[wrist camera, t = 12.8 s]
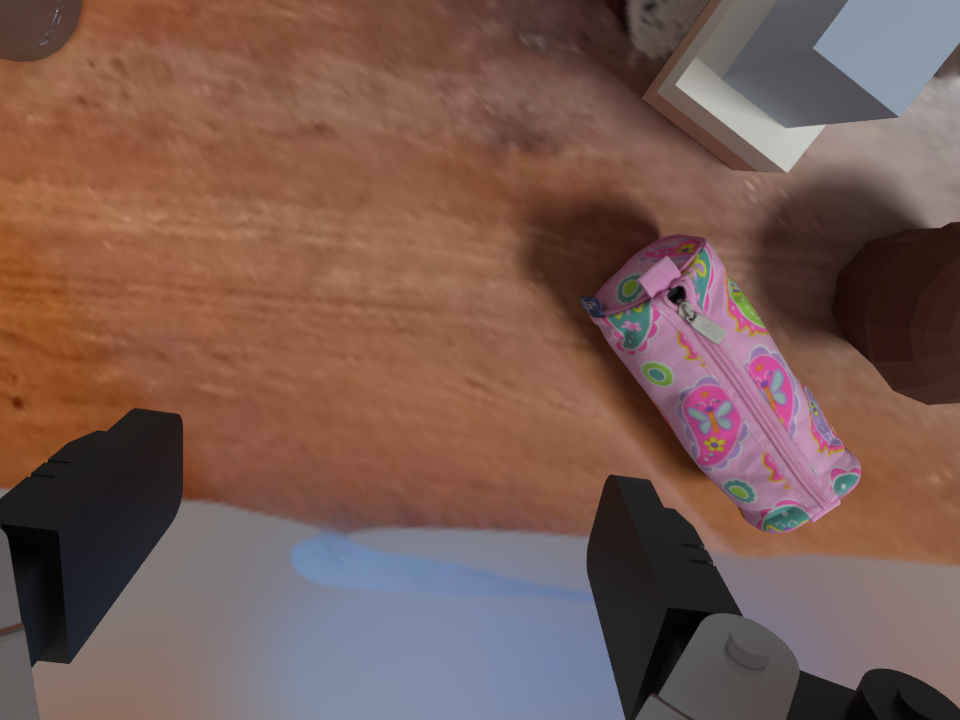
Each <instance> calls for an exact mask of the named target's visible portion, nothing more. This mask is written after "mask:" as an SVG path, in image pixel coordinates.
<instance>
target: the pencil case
mask: <svg viewBox="0 0 960 720" xmlns="http://www.w3.org/2000/svg"><path fill="white" fill-rule="evenodd" d="M580 303H581V304H582V306H583V308H584V309H585V311H586V312H587V313H588V314H589V316H590V318H591V320H592V321H593V323H594V324H597V325H598V326H599V327H600V329H601V331H602V333H603V335H604V337H605V339H606V340H607V342H608V344H609V345H610V346H611V348H612V349H613V350H614V352H615V353H616V354H617V356H618V357H619V358H620V359H621V361H622V362H623V363H624V365H625V366H626V367H627V369H628V370H629V371H630V373H631V374H632V375H633V377H634V378H635V379H636V380H637V382H638V383H639V384H640V385H641V387H642V388H643V389H644V390H645V392H646V393H647V395H648V396H649V397H650V399H651V400H652V402H653V403H654V404H655V406H656V407H657V408H658V410H659V411H660V413H661V414H662V416H663V417H664V419H665V420H666V422H667V423H668V424H669V426H670V427H671V429H672V430H673V432H674V433H675V435H676V436H677V438H678V439H679V441H680V443H681V444H682V446H683V447H684V449H685V450H686V451H687V453H688V454H689V456H690V457H691V458H692V460H693V461H694V462H695V463H696V464H697V466H698V467H699V468H700V469H701V470H702V471H703V472H704V473H705V474H706V475H707V476H708V477H709V478H710V479H711V480H712V482H713V483H714V484H715V485H716V486H717V487H718V488H719V489H720V490H721V491H722V492H724V493H725V494H726V495H727V496H728V497H729V498H730V499H731V500H732V501H733V503H734V504H735V505H737V506H738V509H739V511H740V513H741V515H742V517H743V518H744V519H745V520H746V521H747V522H748V523H750V524H751V525H753V526H754V527H756V528H758V529H760V530H762V531H764V532H768V533H784V532H788V531H792V530H794V529H796V528H798V527H800V526H802V525H803V524H805V523H806V522H808V521H811V522H815V521H816V520H818V519H819V518H820V517H821V516H823V515H824V514H826V513H827V512H829V511H830V510H832V509H833V508H835V507H836V506H838V505H839V504H840V503H841V502H840V499H841V498H843V497H844V496H845V495H846V494H848V493H849V492H850V491H851V490H852V489H854V487H855V486H856V485H857V484H858V482H859V480H860V477H861V471H860V470H861V467H860V463H859V461H858V459H857V458H856V457H855V455H854V454H853V453H851V452H850V451H849V450H848V449H847V448H845V447H844V444H843V443H842V442H841V440H840V439H839V437H838V435H837V433H836V431H835V430H834V428H833V426H832V425H831V424H830V423H829V421H828V420H827V418H826V416H825V415H824V413H823V411H822V410H821V408H820V406H819V405H818V403H817V401H816V400H815V398H814V397H813V396H812V394H811V392H810V390H809V389H808V388H807V387H806V386H805V385H804V384H803V383H802V382H801V381H800V380H799V379H798V378H797V377H796V376H795V375H794V374H793V373H792V372H791V370H790V368H789V366H788V364H787V363H786V361H785V359H784V358H783V356H782V354H781V353H780V351H779V349H778V348H777V346H776V344H775V343H774V341H773V339H772V338H771V336H770V334H769V333H768V331H767V329H766V327H765V326H764V324H763V322H762V321H761V319H760V318H759V316H758V314H757V313H756V311H755V310H754V308H753V307H752V306H751V304H750V303H749V301H748V300H747V299H746V297H745V296H744V294H743V293H742V291H741V290H740V289H739V287H738V286H737V285H736V284H735V282H734V281H733V280H732V279H731V278H730V277H729V276H728V274H727V273H726V270H725V267H724V265H723V263H722V262H721V260H720V259H719V257H718V256H717V254H716V252H715V250H714V249H713V247H712V246H711V244H710V243H709V241H708V240H707V239H705V238H703V237H693V236H687V235H681V234H677V235H671V236H667V237H664V238H661V239H659V240H657V241H655V242H653V243H651V244H649V245H648V246H646V247H645V248H643V249H642V250H640V251H639V252H637V253H636V254H635V255H633V256H632V257H631V258H630V259H629V260H628V261H627V262H626V263H625V264H624V265H623V266H622V267H621V269H620V270H619V271H618V272H617V273H616V274H614V275H613V276H612V277H611V278H610V279H609V280H608V281H607V282H606V283H605V284H604V285H603V286H602V287H601V288H600V290H599V291H598V292H597V294H596V295H595V297H594V298H593V297H580Z"/></svg>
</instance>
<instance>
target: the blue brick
mask: <svg viewBox="0 0 960 720" xmlns="http://www.w3.org/2000/svg"><path fill="white" fill-rule="evenodd" d="M959 43H960V0H778V1H777V2H776V4H775V5H774V6H773V8H772V9H771V11H770V12H769V13H768V15H767V16H766V18H765V19H764V20H763V22H762V23H761V25H760V26H759V27H758V29H757V30H756V32H755V33H754V34H753V36H752V37H751V39H750V40H749V42H748V43H747V44H746V46H745V47H744V49H743V50H742V51H741V53H740V54H739V56H738V57H737V58H736V60H735V61H734V63H733V64H732V65H731V67H730V68H729V70H728V71H727V72H726V74H725V75H724V77H723V78H722V80H724V81H725V82H726V83H728V84H729V85H730V86H732V87H733V88H734V89H736V90H737V91H738V92H739V93H741V94H742V95H743V96H745V97H746V98H747V99H749V100H750V101H751V102H752V103H754V104H755V105H756V106H758V107H759V108H760V109H762V110H763V111H764V112H766V113H767V114H768V115H769V116H771V117H772V118H773V119H775V120H776V121H777V122H779V123H780V124H781V125H783V126H784V127H785V128H795V127H805V126H815V125H825V124H836V123H846V122H856V121H866V120H877V119H887V118H897V117H900V116H901V115H902V113H903V112H904V111H905V110H906V108H907V107H908V106H909V105H910V104H911V102H912V101H913V100H914V99H915V97H916V96H917V95H918V94H919V92H920V91H921V90H922V89H923V87H924V86H925V85H926V84H927V82H928V81H929V80H930V79H931V78H932V76H933V75H934V74H935V73H936V71H937V70H938V69H939V68H940V66H941V65H942V64H943V63H944V61H945V60H946V59H947V58H948V56H949V55H950V54H951V53H952V51H953V50H954V49H955V48H956V47H957V45H958V44H959Z"/></svg>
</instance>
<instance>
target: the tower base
mask: <svg viewBox="0 0 960 720" xmlns="http://www.w3.org/2000/svg"><path fill="white" fill-rule="evenodd" d="M777 1H778V0H710V2H709V3H708V4H707V6H706V7H705V9H704V10H703V11H702V13H701V14H700V16H699V17H698V19H697V20H696V21H695V23H694V24H693V26H692V27H691V28H690V30H689V31H688V33H687V34H686V36H685V37H684V38H683V40H682V41H681V43H680V44H679V45H678V47H677V48H676V50H675V51H674V53H673V54H672V55H671V57H670V58H669V60H668V61H667V62H666V64H665V65H664V67H663V68H662V70H661V71H660V72H659V74H658V75H657V77H656V78H655V79H654V81H653V82H652V84H651V85H650V86H649V88H648V89H647V91H646V92H645V94H644V95H643V96H642V99H643V100H644V101H645V102H647V103H648V104H649V105H651V106H652V107H653V108H654V109H656V110H657V111H658V112H660V113H661V114H662V115H664V116H665V117H666V118H667V119H669V120H670V121H671V122H673V123H674V124H675V125H676V126H678V127H679V128H680V129H682V130H683V131H684V132H686V133H687V134H688V135H689V136H691V137H692V138H693V139H695V140H696V141H697V142H698V143H700V144H701V145H702V146H704V147H705V148H706V149H708V150H709V151H710V152H711V153H713V154H714V155H715V156H717V157H718V158H719V159H720V160H722V161H723V162H724V163H726V164H727V165H728V166H730V167H731V168H732V169H733V170H739V171H757V172H776V173H788V172H789V170H790V169H791V168H792V167H793V165H794V164H795V163H796V162H797V160H798V159H799V158H800V157H801V155H802V154H803V153H804V152H805V150H806V149H807V148H808V147H809V145H810V144H811V143H812V142H813V141H814V139H815V138H816V137H817V136H818V134H819V133H820V132H821V131H822V129H823V128H824V127H825V126H826V124H825V125H815V126H805V127H795V128H785V127H784V126H783V125H781V124H780V123H779V122H777V121H776V120H775V119H773V118H772V117H771V116H769V115H768V114H767V113H766V112H764V111H763V110H762V109H760V108H759V107H758V106H756V105H755V104H754V103H752V102H751V101H750V100H749V99H747V98H746V97H745V96H743V95H742V94H741V93H739V92H738V91H737V90H736V89H734V88H733V87H732V86H730V85H729V84H728V83H726V82H725V81H724V80H722V78H723V77H724V75H725V74H726V72H727V71H728V70H729V68H730V67H731V65H732V64H733V63H734V61H735V60H736V58H737V57H738V56H739V54H740V53H741V51H742V50H743V49H744V47H745V46H746V44H747V43H748V42H749V40H750V39H751V37H752V36H753V34H754V33H755V32H756V30H757V29H758V27H759V26H760V25H761V23H762V22H763V20H764V19H765V18H766V16H767V15H768V13H769V12H770V11H771V9H772V8H773V6H774V5H775V4H776V2H777Z"/></svg>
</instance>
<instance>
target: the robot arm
mask: <svg viewBox="0 0 960 720" xmlns="http://www.w3.org/2000/svg"><path fill="white" fill-rule="evenodd" d="M81 1H82V0H0V58H2V59H7V60H12V61H17V62H24V61H36V60H39V59H43V58H46V57H48V56H50V55H51V54H53V53H55V52H57V51H58V50H59V49H60V48H61V47H62V46H63V45H64V44H65V43H66V42H67V41H68V40H69V39H70V37H71V35H72V33H73V32H74V30H75V28H76V26H77V22H78V19H79V16H80V13H81ZM182 492H183V423H182V419H181V416H180V415H179V414H176V413H168V412H161V411H154V410H147V409H139V408H134V409H132V410H131V411H129V412H128V413H127V414H126V415H125V416H124V417H123V418H121V419H120V420H119V421H118V422H117V423H116V424H115V425H113V426H112V427H111V428H110V429H109V430H108V431H107V432H106V431H99V430H97V431H95V432H93V433H90V434H88V435H86V436H83V437H81V438H79V439H76V440H74V441H71V442H69V443H68V444H66V445H65V446H64V447H63V448H61V449H60V450H59V451H58V452H57V453H55V454H54V455H53V456H52V457H50V458H49V459H48V462H47V463H43V464H42V465H41V466H40V467H38V468H37V469H36V470H35V471H33V472H32V473H31V477H26V478H25V479H24V480H22V481H21V482H20V483H19V484H18V485H16V486H15V487H14V488H13V489H12V490H10V491H9V492H8V493H7V494H5V495H4V496H3V497H2V498H1V499H0V720H40V718H39V712H38V706H37V700H36V694H35V688H34V682H33V676H32V670H31V668H32V667H33V666H34V665H35V663H36V662H37V661H46V662H56V663H65V664H70V663H71V661H72V660H73V659H74V657H75V656H76V654H77V653H78V652H79V650H80V649H81V648H82V646H83V645H84V643H85V642H86V641H87V639H88V638H89V637H90V635H91V634H92V632H93V631H94V630H95V628H96V627H97V625H98V624H99V623H100V621H101V620H102V618H103V617H104V616H105V615H106V613H107V612H108V610H109V609H110V608H111V606H112V605H113V603H114V602H115V601H116V599H117V598H118V597H119V595H120V593H121V592H122V591H123V590H124V588H125V587H126V586H127V584H128V583H129V581H130V580H131V579H132V577H133V576H134V574H135V573H136V572H137V570H138V569H139V568H140V566H141V565H142V563H143V562H144V561H145V559H146V558H147V557H148V555H149V554H150V552H151V551H152V550H153V548H154V547H155V545H156V544H157V543H158V541H159V540H160V539H161V537H162V536H163V534H164V533H165V532H166V530H167V529H168V528H169V526H170V525H171V523H172V521H173V520H174V518H175V517H176V514H177V512H178V509H179V506H180V503H181V499H182ZM587 573H588V578H589V581H590V585H591V589H592V593H593V597H594V601H595V604H596V608H597V612H598V616H599V620H600V624H601V627H602V631H603V635H604V639H605V643H606V647H607V650H608V654H609V658H610V662H611V666H612V670H613V673H614V677H615V681H616V685H617V688H618V692H619V696H620V700H621V704H622V708H623V712H624V715H625V719H626V720H960V709H959V708H958V707H957V706H956V705H955V704H954V703H953V702H952V701H950V700H949V699H948V698H947V697H946V696H944V695H943V694H942V693H940V692H939V691H937V690H936V689H935V688H933V687H931V686H929V685H928V684H926V683H925V682H923V681H921V680H919V679H917V678H915V677H912V676H910V675H908V674H905V673H902V672H899V671H895V670H891V669H873V670H870V671H868V672H867V673H865V674H864V676H863V677H862V679H861V681H860V683H859V685H858V687H857V689H856V691H855V690H853V689H850V688H847V687H844V686H841V685H839V684H836V683H833V682H830V681H828V680H825V679H822V678H819V677H816V676H814V675H811V674H808V673H806V672H804V671H801V670H799V665H798V662H797V660H796V658H795V656H794V654H793V653H792V651H791V650H790V649H789V647H788V646H787V645H786V644H785V643H784V642H783V641H782V640H781V639H780V638H779V637H778V636H776V635H775V634H774V633H773V632H771V631H770V630H769V629H767V628H766V627H764V626H762V625H760V624H759V623H757V622H755V621H752V620H750V619H747V618H745V617H743V616H742V614H741V612H740V610H739V608H738V606H737V604H736V603H735V601H734V599H733V597H732V595H731V594H730V592H729V590H728V588H727V586H726V584H725V583H724V581H723V579H722V577H721V576H720V574H719V572H718V570H717V568H716V566H713V561H712V559H711V557H710V555H709V553H708V552H707V550H704V544H703V543H702V541H701V539H700V537H699V535H698V533H697V532H696V530H695V528H694V527H693V526H692V525H691V524H690V523H689V522H688V521H687V520H686V519H685V518H684V517H683V516H681V515H680V514H679V513H678V512H677V511H676V510H675V509H671V508H664V507H663V505H662V503H661V501H660V499H659V497H658V495H657V493H656V491H655V489H654V487H653V485H652V483H651V481H650V480H648V479H640V478H633V477H626V476H619V475H609V476H608V478H607V479H606V482H605V484H604V488H603V491H602V495H601V498H600V502H599V506H598V509H597V513H596V517H595V520H594V524H593V528H592V531H591V535H590V539H589V543H588V549H587Z"/></svg>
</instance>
